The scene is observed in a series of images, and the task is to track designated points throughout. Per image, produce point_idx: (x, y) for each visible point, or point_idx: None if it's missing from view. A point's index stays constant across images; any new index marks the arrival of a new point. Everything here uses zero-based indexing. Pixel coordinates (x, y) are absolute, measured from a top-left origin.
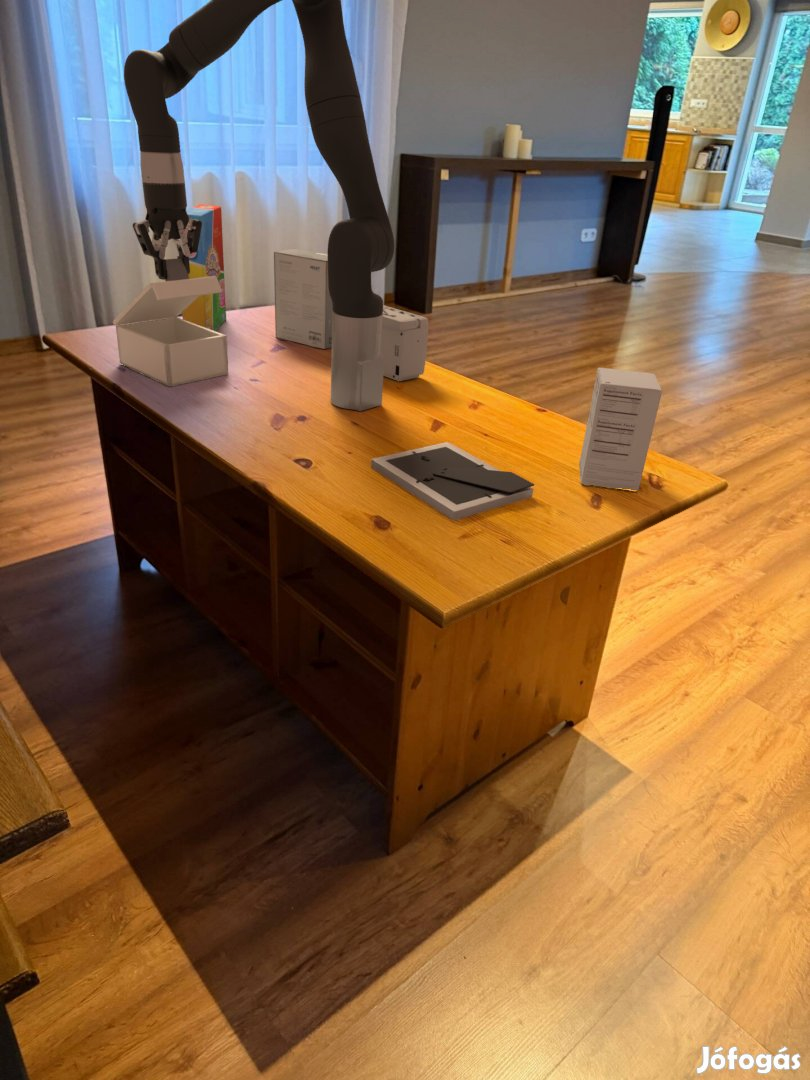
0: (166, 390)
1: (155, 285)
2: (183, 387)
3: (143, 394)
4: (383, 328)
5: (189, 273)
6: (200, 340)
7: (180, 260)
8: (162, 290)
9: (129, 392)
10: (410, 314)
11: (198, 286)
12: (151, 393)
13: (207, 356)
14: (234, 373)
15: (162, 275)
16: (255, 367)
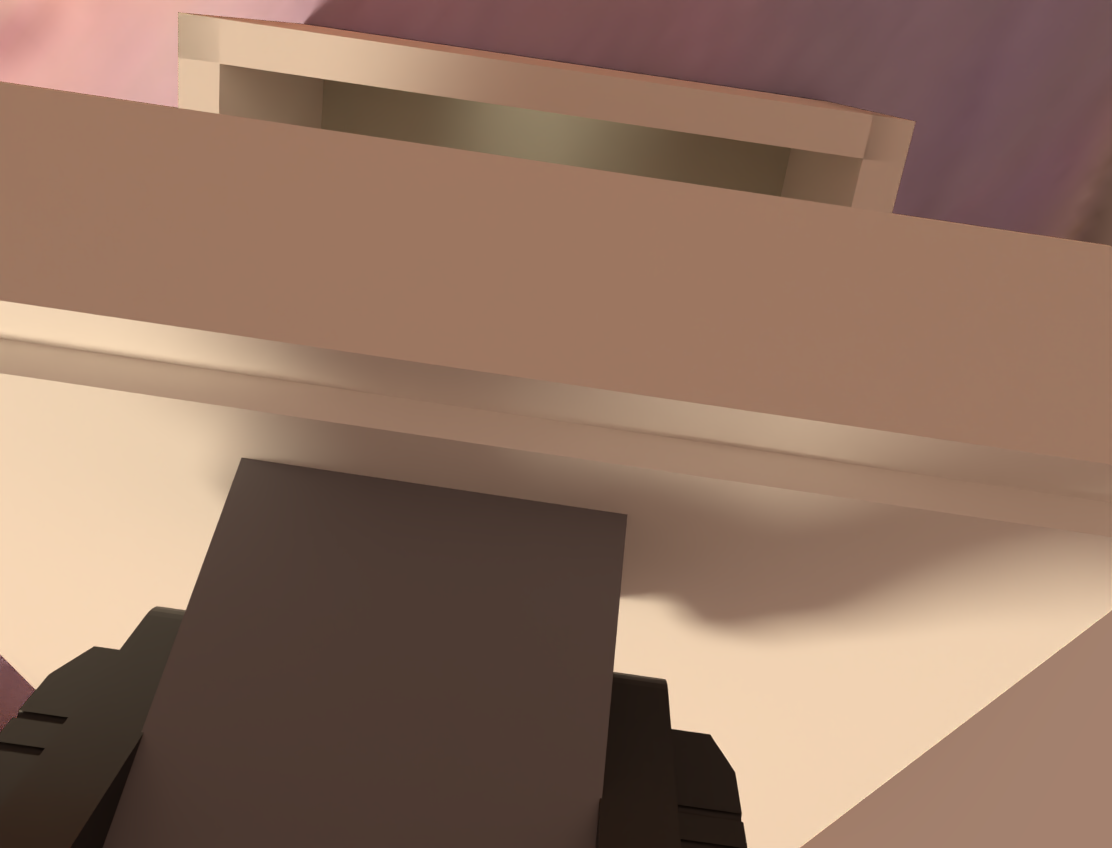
0: (893, 56)
1: None
2: (761, 21)
3: (1063, 103)
4: None
5: (90, 650)
6: (505, 61)
7: None
8: (1017, 338)
9: (1086, 206)
10: None
11: (252, 218)
12: (1011, 80)
13: (458, 50)
14: (251, 7)
15: (675, 743)
16: (24, 6)
